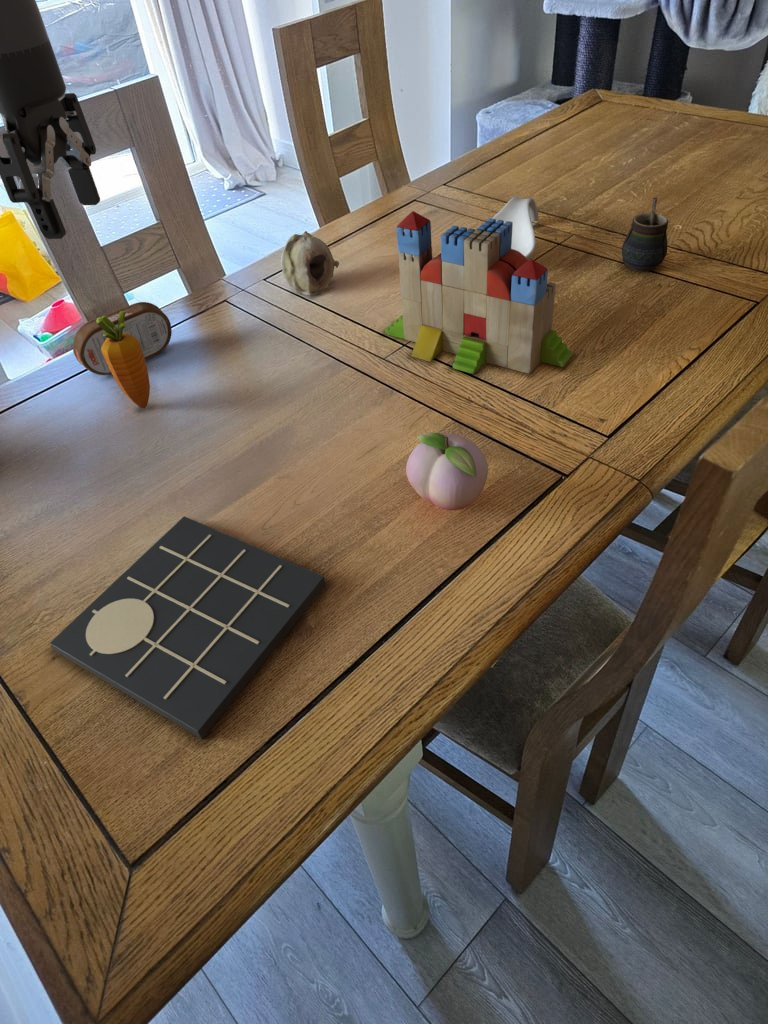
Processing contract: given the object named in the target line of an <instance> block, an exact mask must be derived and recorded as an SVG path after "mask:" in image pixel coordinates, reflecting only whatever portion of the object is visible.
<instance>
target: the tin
mask: <svg viewBox="0 0 768 1024" xmlns="http://www.w3.org/2000/svg"><path fill="white" fill-rule="evenodd" d="M120 311H124V312H126V313H125V318H124V324H126V327H125V328H123V333H128V334H131V335H132V336H133V337H135V338H136V339H137V340H138V341H139V343H140V346H141V349H142V352H143V355H144V358H145V361H147V360H148V359H151V358H153V357H155V356H157V355H159V354H161V353H162V352H163V351H164V350H165V349H166V348H167V347H168V345H169V343H170V341H171V339H172V324H171V320H170V319H169V317H168V316H167V315H166V313H164V312H163V310H162V309H161V308H160V307H159V306H157V305H156V304H154V303H151V302H147V301H139V302H135V303H132V304H130V305H127V306H125V307H122V308H120V309H117V310H114V311H112V312H109V313H107V314H103V315H101V316H99V317H101V318H102V317H103V316H106V317H107V318H108V319H110V320H111V321H112V322H113V324H114V325H115V327H117V330H118V317H119V313H120ZM99 317H96V318H93V319H91V320H88V321H86V322H85V323H84V324H83V325H81V326H80V327H79V328H78V329H77V331H76V332H75V335H74V337H73V340H72V352H73V355H74V357H75V359H76V361H78V363H79V364H80V365H81V366H83V367H84V368H85V369H86V370H87V371H88V372H91V373H93V374H94V375H99V376H110V375H112V373H111V371H110V369H109V367H108V365H107V363H106V360H105V358H104V356H103V354H102V351H101V347H102V345H103V343H104V342H105V340H106V338H107V337H104V336H103V334H104V333H106V332H105V331H104V330H103V329H102V328H101V327H100V326H99V325H98V324H97V322H96V320H97V318H99ZM107 325H108V324H107ZM108 326H109V325H108ZM109 327H110V326H109ZM112 331H113V330H112ZM113 332H114V331H113Z"/></svg>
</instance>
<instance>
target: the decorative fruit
mask: <svg viewBox="0 0 768 1024" xmlns="http://www.w3.org/2000/svg"><path fill="white" fill-rule="evenodd" d="M416 439H417V441H419V444H417V445H416V446H415V447H414V449H413V450H412V451H411V453H410V455H409V457H408V459H407V461H406V467H405V474H406V477H407V478H406V479H407V480H408V483H409V484H410V485H411V487H412V488H413V490H414V491H415V492H416V493H417V494H418V495H419V496H420V497H421V498H422V499H423V500H425V501H426V502H428V503H429V504H430V503H431V504H433V505H435V507H436V508H439V509H441V510H444V511H459V510H463V509H466V508H469V507H470V506H472V505H474V504H475V503H476V502H477V501H478V499H479V498H480V496H481V495H482V493H483V491H484V489H485V486H486V483H487V481H488V475H489V464H488V460H487V457H486V455H485V453H484V452H483V450H482V449H481V448H480V447H479V446H478V445H477V444H476V443H474V442H473V441H471V440H470V439H468V438H466V437H464V436H462V435H458V434H454V433H443V434H442V433H439V432H433V431H431V432H424V433H422V434H419V435H418V436H417V437H416Z"/></svg>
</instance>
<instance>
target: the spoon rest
mask: <svg viewBox="0 0 768 1024" xmlns="http://www.w3.org/2000/svg"><path fill="white" fill-rule="evenodd" d="M492 218H493V219H496V222H497V221H498V220H503V221H504V223H505V222H506V221H510V222H513V227H512V244H511V249H514V250H517V251H519V252H520V253H521V254H523V255H524V256H525V257H526V258H527V260H528V261H529V260H530V259H531V257H532V256H533V254H534V252H535V250H536V235H535V234H536V233H535V231H534V227H535V226H538V225H539V211H538V206H537V203H536V201H535V199H534V198H533V197H527V198H523V197H520V196H513V197H512V198H510V199H509V200H508V201H507V202H506V203H505V205H503V207H502V208H501V209H500V210H499V211H498V212H497V213H496V214H495V215H494V216H492ZM531 221H538V222H537V223H532V222H531Z"/></svg>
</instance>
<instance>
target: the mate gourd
mask: <svg viewBox="0 0 768 1024" xmlns="http://www.w3.org/2000/svg"><path fill="white" fill-rule="evenodd" d="M657 202H658V197H653V198H652V207H651V212H645V213H640V214H637V215H635V216H634V217H633V218H632V219H631V221H632V222H631V226H630V229H629V230H628V232H627V234H626V237H625V239H624V241H623V243H622V246H621V259H622V262H623V264H624V266H626V267H627V268H628V269H629V270H632V271H633V272H638V273H646V272H651V271H653V270H655V269H656V268H658V267H659V266H661V265H662V264H663V262H664V261H665V259H666V257H667V255H668V232H667V231H668V226H669V219H668V218H667V217H666V216H664V215H662V214H659V213H656V210H657Z"/></svg>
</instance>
